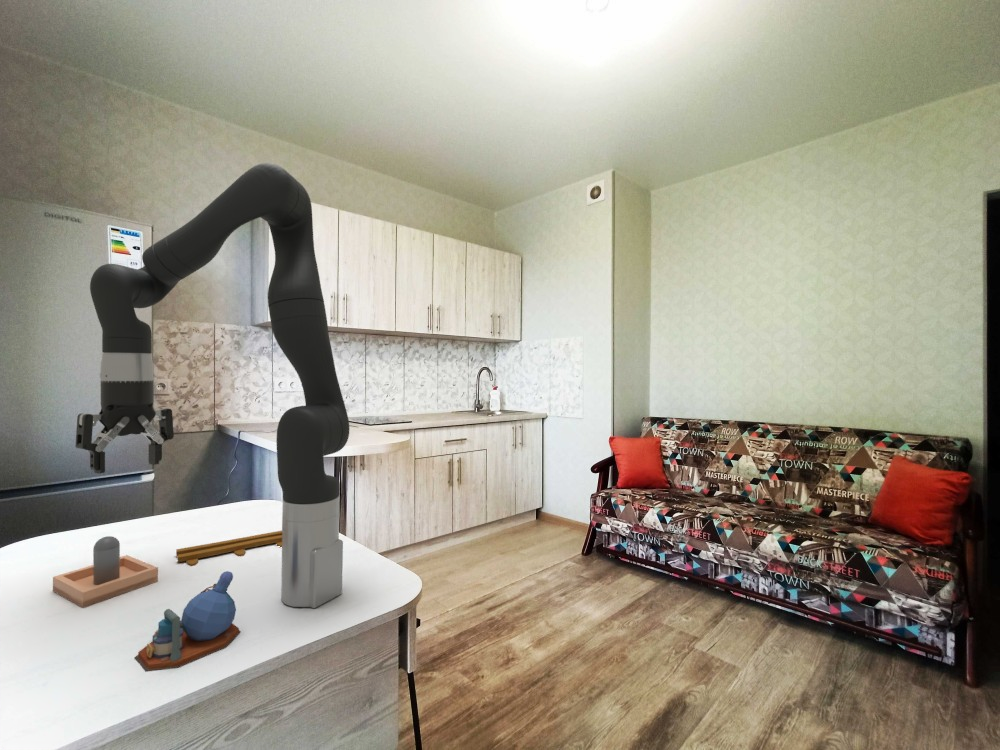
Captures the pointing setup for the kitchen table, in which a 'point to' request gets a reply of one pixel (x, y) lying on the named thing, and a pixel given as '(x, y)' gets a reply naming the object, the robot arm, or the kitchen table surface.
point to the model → (193, 630)
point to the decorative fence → (227, 547)
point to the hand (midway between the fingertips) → (128, 468)
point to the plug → (106, 560)
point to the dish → (85, 593)
